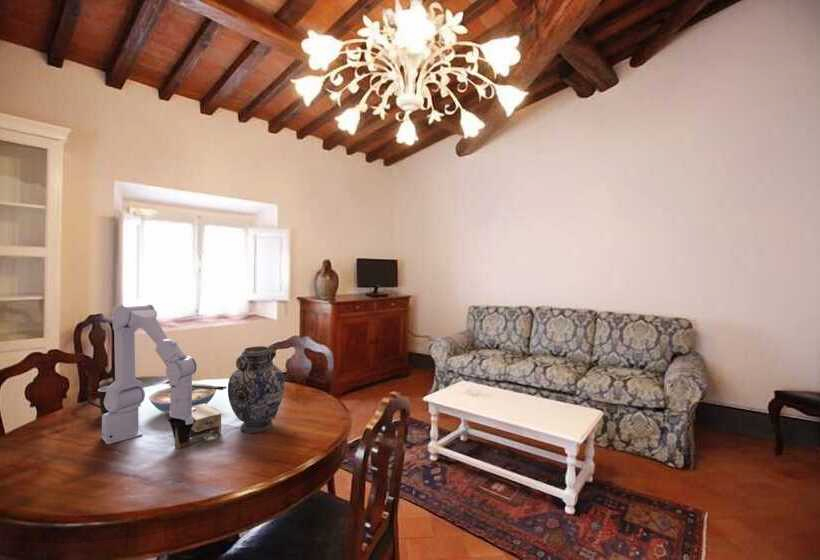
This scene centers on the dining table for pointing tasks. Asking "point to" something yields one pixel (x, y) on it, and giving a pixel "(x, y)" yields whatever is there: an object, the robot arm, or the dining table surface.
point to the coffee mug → (101, 395)
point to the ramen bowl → (199, 396)
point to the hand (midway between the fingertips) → (181, 440)
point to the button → (210, 437)
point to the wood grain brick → (191, 439)
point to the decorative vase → (256, 388)
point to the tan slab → (206, 418)
